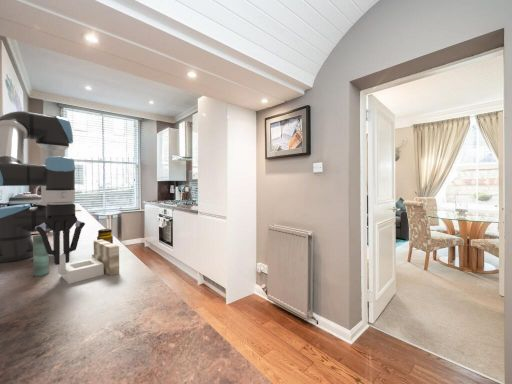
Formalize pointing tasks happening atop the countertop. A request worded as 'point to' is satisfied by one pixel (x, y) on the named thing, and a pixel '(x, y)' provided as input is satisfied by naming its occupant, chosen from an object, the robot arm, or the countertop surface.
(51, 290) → the countertop surface
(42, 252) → the dowel
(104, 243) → the wall
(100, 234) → the condiment
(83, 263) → the socket block
